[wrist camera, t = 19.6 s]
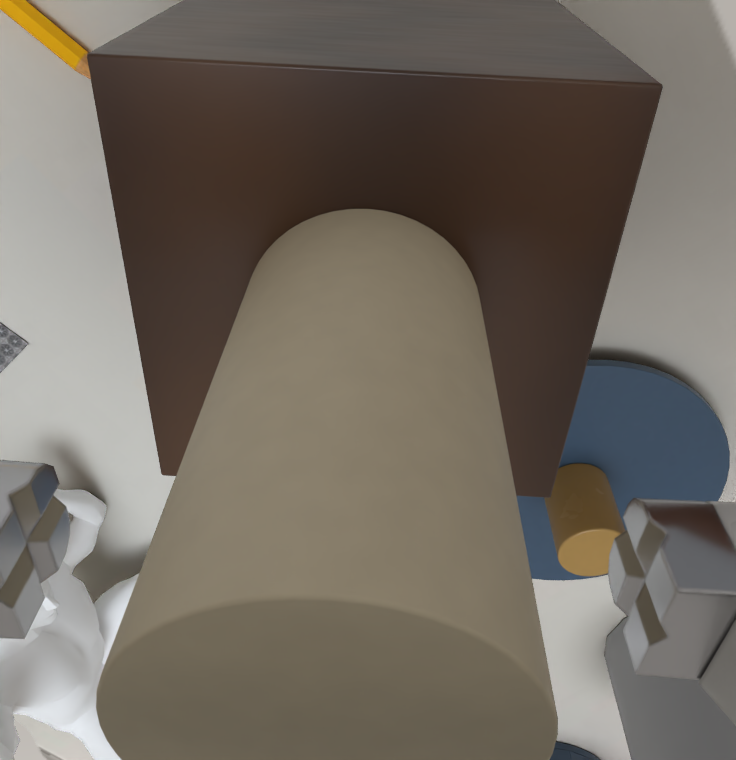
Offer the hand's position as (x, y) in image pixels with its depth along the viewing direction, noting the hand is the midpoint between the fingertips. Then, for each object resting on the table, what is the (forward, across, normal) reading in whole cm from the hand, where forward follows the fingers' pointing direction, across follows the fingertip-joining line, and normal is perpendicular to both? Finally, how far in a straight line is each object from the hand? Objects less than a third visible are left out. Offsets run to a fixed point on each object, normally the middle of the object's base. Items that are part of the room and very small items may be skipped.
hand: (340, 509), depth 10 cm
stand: (+18, 0, 0) cm, 18 cm away
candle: (+6, 0, 0) cm, 6 cm away
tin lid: (+17, -10, +15) cm, 25 cm away
